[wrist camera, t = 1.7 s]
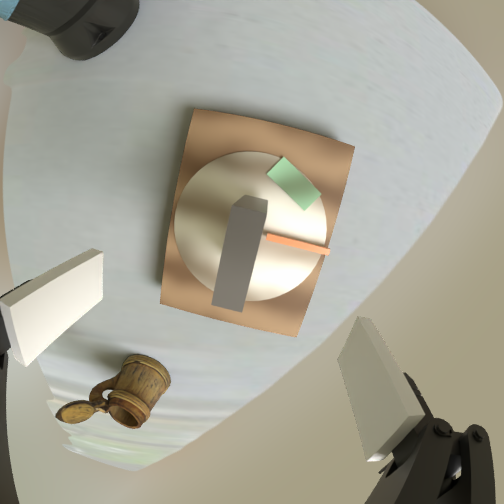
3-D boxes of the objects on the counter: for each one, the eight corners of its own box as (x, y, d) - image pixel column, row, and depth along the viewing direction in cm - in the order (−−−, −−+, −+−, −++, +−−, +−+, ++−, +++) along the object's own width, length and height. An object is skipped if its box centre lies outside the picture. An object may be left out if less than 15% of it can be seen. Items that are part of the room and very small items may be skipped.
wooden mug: (106, 334, 40) (49, 400, 23) (175, 368, 41) (138, 451, 24) (103, 366, 43) (58, 429, 26) (166, 397, 44) (134, 471, 26)
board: (202, 115, 30) (193, 107, 26) (345, 149, 30) (356, 146, 26) (170, 290, 37) (158, 304, 33) (294, 321, 37) (296, 339, 33)
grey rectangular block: (245, 193, 28) (232, 205, 18) (337, 217, 28) (372, 242, 18) (230, 260, 30) (211, 305, 20) (317, 281, 30) (338, 332, 20)
